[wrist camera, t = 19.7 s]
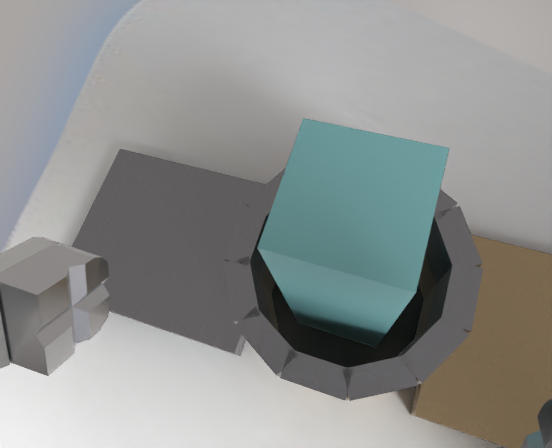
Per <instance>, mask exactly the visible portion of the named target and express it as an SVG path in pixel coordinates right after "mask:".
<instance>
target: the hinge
mask: <svg viewBox="0 0 552 448" xmlns="http://www.w3.org/2000/svg"><path fill="white" fill-rule="evenodd" d="M285 169H286V168H285ZM285 169H284V170H283V171H282V172H281V173H280V174H278V175H277V176H276V177H275V178H274V179H273V180H271V181H270V182H269V183H268V184H267V185H265V184H261V183H257V182H253V181H249V180H245V179H241V178H237V177H233V176H229V175H225V174H221V173H216V172H212V171H208V170H204V169H200V168H196V167H192V166H188V165H184V164H180V163H176V162H172V161H167V160H163V159H159V158H155V157H151V156H147V155H143V154H139V153H135V152H131V151H127V150H123V149H120V150H119V152H118V154H117V156H116V158H115V160H114V162H113V165H112V167H111V169H110V171H109V173H108V175H107V177H106V179H105V181H104V183H103V185H102V187H101V189H100V191H99V193H98V195H97V197H96V199H95V201H94V203H93V205H92V207H91V209H90V211H89V213H88V215H87V217H86V219H85V221H84V223H83V225H82V227H81V229H80V232H79V234H78V236H77V238H76V240H75V242H74V244H73V246H72V247H74V248H77V249H80V250H83V251H86V252H88V253H91V254H94V255H97V256H100V257H102V258H103V259H105V260H106V261H107V262H108V271H109V277H108V279H107V280H106V281H105V282H104V283H103V285H104V286H105V288H106V290H107V291H108V293H109V295H110V308H109V311H110V312H113V313H116V314H119V315H122V316H125V317H128V318H131V319H134V320H137V321H140V322H143V323H145V324H148V325H151V326H154V327H157V328H160V329H163V330H166V331H169V332H172V333H175V334H177V335H180V336H183V337H186V338H189V339H192V340H195V341H198V342H201V343H204V344H207V345H210V346H212V347H215V348H218V349H221V350H224V351H227V352H230V353H233V354H236V355H239V356H240V355H241V352H242V349H243V346H244V343H245V340H247V341H248V342H249V343H250V344H251V346H252V347H253V348H254V349H255V350H256V352H257V353H258V354H259V355H260V356H261V358H262V359H263V360H264V361H265V362H266V364H267V365H268V366H269V367H270V368H271V369H272V371H273V372H274V373H275V374H276V375H277V376H280V378H282V379H285V380H288V381H291V382H294V383H297V384H299V385H302V386H305V387H308V388H311V389H314V390H317V391H320V392H322V393H325V394H328V395H331V396H334V397H337V398H340V399H343V400H345V399H346V397H347V400H349V401H351V400H355V399H360V398H364V397H369V396H373V395H378V394H383V393H387V392H392V391H396V390H401V389H405V388H410V387H414V386H416V391H415V395H414V400H413V405H412V409H411V415H413V416H416V417H419V418H422V419H425V420H428V421H431V422H434V423H437V424H440V425H443V426H446V427H448V428H451V429H454V430H457V431H460V432H463V433H466V434H469V435H472V436H475V437H478V438H480V439H483V440H486V441H489V442H492V443H495V444H498V445H501V446H504V447H507V448H521V446H522V444H523V442H524V440H525V438H526V436H527V435H529V434H531V433H534V432H536V431H539V430H540V427H539V422H538V418H537V415H538V413H539V412H540V410H541V408H542V406H543V405H544V404H545V403H546V402H547V401H548V400H549V399H552V255H551V254H547V253H543V252H539V251H535V250H531V249H527V248H523V247H519V246H515V245H510V244H506V243H502V242H498V241H494V240H490V239H486V238H482V237H478V236H474V235H471V233H470V231H469V228H468V226H467V223H466V221H465V218H464V216H463V213H462V211H461V208H460V206H459V207H455V206H456V204H457V202H455V201H454V200H453V199H452V198H451V197H449V196H448V195H447V194H446V193H444V192H443V191H442V190H441V189H440V191H439V195H438V200H437V204H436V208H435V213H434V217H433V221H432V225H431V230H430V234H429V238H428V243H427V247H426V251H425V256H424V260H423V264H422V269H421V273H420V277H419V282H418V284H419V287H420V290H421V293H422V296H423V299H424V300H423V304H422V309H421V313H420V318H419V322H418V327H417V331H416V336H415V339H414V340H413V341H412V342H411V343H410V344H409V345H408V346H407V347H406V348H405V349H404V350H403V351H402V352H401V353H400V354H399V355H398V356H397V357H394V358H390V359H385V360H381V361H376V362H372V363H367V364H363V365H359V366H354V367H350V368H346V367H343V366H340V365H337V364H334V363H331V362H328V361H325V360H322V359H319V358H316V357H313V356H310V355H307V354H304V353H301V352H298V351H295V350H294V349H293V347H292V346H291V345H290V344H289V343H288V342H287V341H286V339H285V338H284V337H283V336H282V335H281V334H280V333H279V329H278V324H277V319H276V314H275V309H274V304H273V299H272V292H273V289H274V286H275V283H276V281H275V279H274V277H273V276H272V274H271V272H270V270H269V268H268V267H267V265H266V263H265V261H264V259H263V257H262V256H261V254H260V252H259V250H258V245H259V242H260V239H261V237H262V234H263V231H264V228H265V225H266V222H267V220H268V217H269V214H270V211H271V208H272V206H273V203H274V200H275V197H276V194H277V192H278V189H279V186H280V183H281V180H282V177H283V175H284V172H285Z"/></svg>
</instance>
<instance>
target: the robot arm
mask: <svg viewBox="0 0 552 448" xmlns="http://www.w3.org/2000/svg"><path fill="white" fill-rule="evenodd" d="M108 277H109V271H108V262H107V261H106V260H105V259H103V258H102V257H100V256H97V255H94V254H91V253H88V252H86V251H83V250H80V249H77V248H74V247H71V246H68V245H65V244H60V243H58V242H56V241H52V240H49V239H46V238H43V237H33V238H31V239H29V240H27V241H25V242H23V243H21V244H19V245H17V246H15V247H13V248H11V249H9V250H7V251H5V252H3V253H1V254H0V368H3V367H5V366H7V365H9V364H10V362H11V363H14V364H16V365H19V366H22V367H25V368H27V369H30V370H33V371H36V372H38V373H41V374H44V375H47V376H49V375H50V374H51V373H52V372H53V371H54V370H55V369H57V368H58V367H59V366H60V365H61V364H62V363H63V362H65V361H66V360H67V359H68V358H69V357H70V356H71V355H73V354H74V350H75V343H79V342H82V341H85V340H88V339H91V338H92V337H93V336H94V335H95V334H96V333H97V332H98V331H99V330H100V329H101V327H102V325H103V324H104V322H105V320H106V318H107V317H108V313H109V308H110V295H109V293H108V291H107V290H106V288H105V286H104V285H103V283H104V282H105V281H106V280H107V279H108ZM537 418H538V422H539V427H540V430H539V431H536V432H534V433H531V434H529V435H527V436H526V438H525V440H524V442H523V444H522V446H521V448H552V399H549V400H548V401H547V402H546V403H545V404H544V405H543V406H542V408H541V410H540V412H539V413H538V415H537Z"/></svg>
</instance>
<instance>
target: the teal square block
mask: <svg viewBox="0 0 552 448" xmlns="http://www.w3.org/2000/svg"><path fill="white" fill-rule="evenodd" d="M448 152H449V148H446V147H441V146H436V145H431V144H426V143H422V142H417V141H412V140H407V139H402V138H397V137H392V136H387V135H383V134H378V133H373V132H368V131H363V130H358V129H353V128H348V127H344V126H339V125H334V124H329V123H324V122H319V121H314V120H309V119H305V118H303V121H302V124H301V127H300V130H299V133H298V135H297V138H296V141H295V144H294V147H293V149H292V152H291V155H290V158H289V161H288V163H287V166H286V169H285V172H284V175H283V177H282V180H281V183H280V186H279V189H278V192H277V194H276V197H275V200H274V203H273V206H272V208H271V211H270V214H269V217H268V220H267V222H266V225H265V228H264V231H263V234H262V237H261V239H260V242H259V245H258V250H259V252H260V254H261V256H262V257H263V259H264V261H265V263H266V265H267V267H268V268H269V270H270V272H271V274H272V276H273V277H274V279H275V281H276V283H277V285H278V287H279V288H280V290H281V292H282V294H283V296H284V298H285V299H286V301H287V303H288V305H289V307H290V309H291V310H292V312H293V314H294V316H295V318H296V320H297V321H298V323H300V324H303V325H306V326H309V327H312V328H315V329H319V330H322V331H325V332H328V333H331V334H334V335H338V336H341V337H344V338H347V339H350V340H353V341H357V342H360V343H363V344H366V345H369V346H372V347H377V346H378V344H379V343H380V342H381V340H382V339H383V337H384V336H385V335H386V333H387V332H388V331H389V329H390V328H391V326H392V325H393V324H394V322H395V321H396V320H397V318H398V317H399V315H400V314H401V313H402V311H403V310H404V309H405V307H406V306H407V304H408V303H409V302H410V300H411V299H412V297H413V296H414V295H415V293H416V290H417V286H418V282H419V277H420V273H421V269H422V264H423V260H424V256H425V251H426V247H427V243H428V238H429V234H430V230H431V225H432V221H433V217H434V213H435V208H436V204H437V200H438V195H439V191H440V187H441V182H442V178H443V174H444V169H445V165H446V161H447V156H448Z"/></svg>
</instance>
